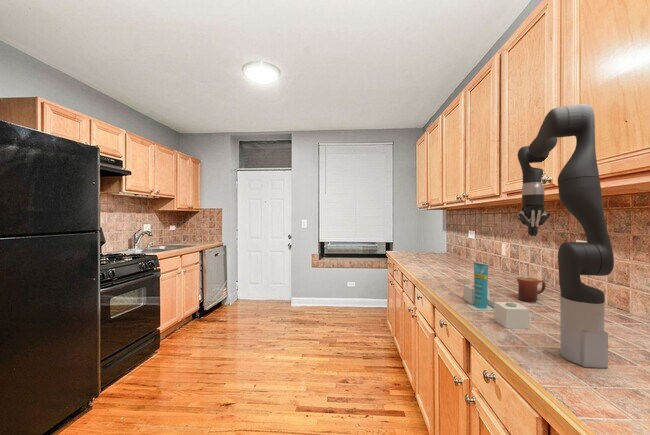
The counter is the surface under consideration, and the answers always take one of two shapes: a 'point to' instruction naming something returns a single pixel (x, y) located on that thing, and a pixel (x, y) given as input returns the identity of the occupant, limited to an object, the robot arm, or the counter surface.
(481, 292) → the tube
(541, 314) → the counter surface
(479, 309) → the pad
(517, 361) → the counter surface
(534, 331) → the counter surface
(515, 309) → the block with green button
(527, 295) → the mug
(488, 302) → the rail
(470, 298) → the grey block
